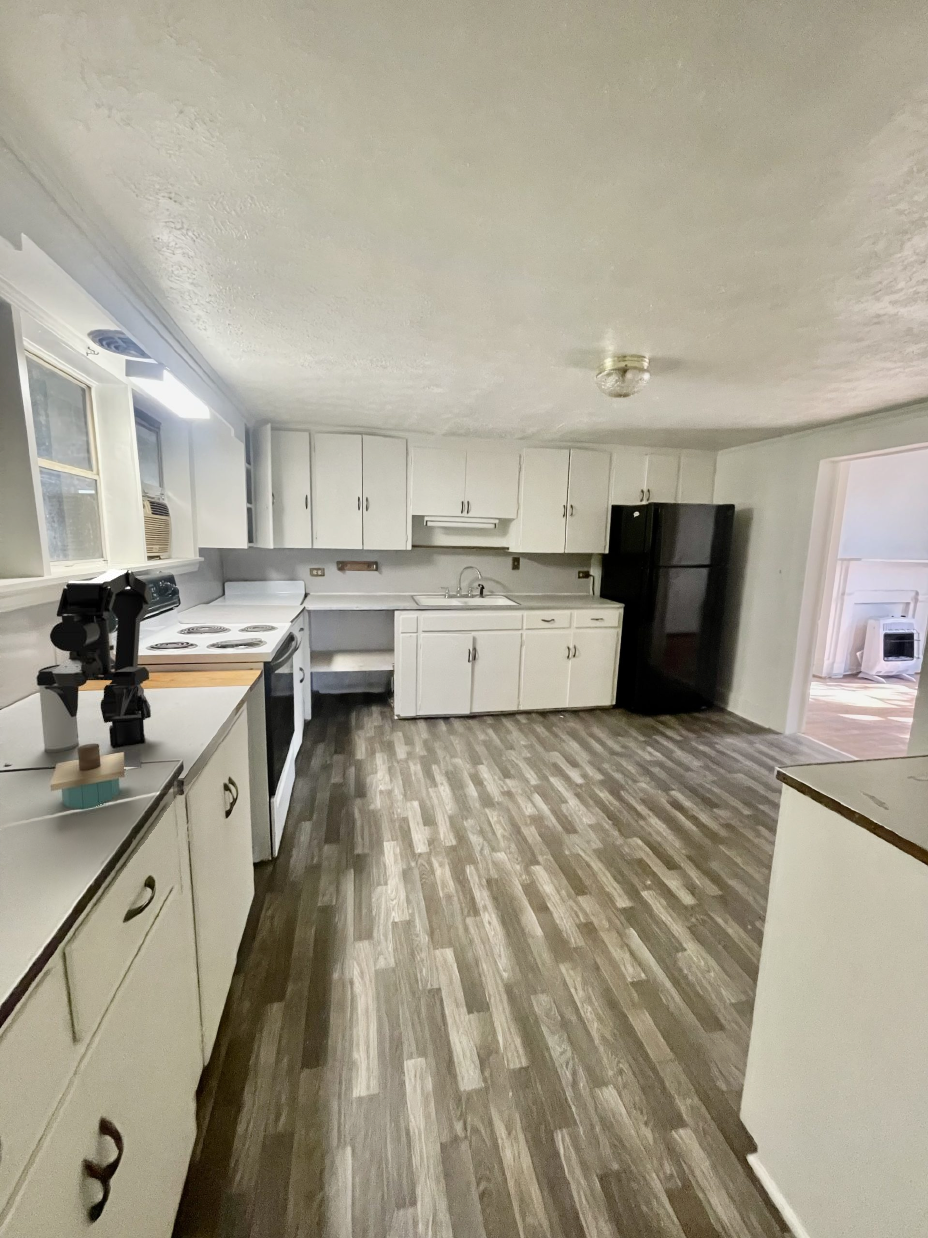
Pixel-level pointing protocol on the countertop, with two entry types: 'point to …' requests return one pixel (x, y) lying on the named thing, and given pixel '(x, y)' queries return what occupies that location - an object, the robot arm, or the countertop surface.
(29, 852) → the countertop surface
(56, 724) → the travel mug
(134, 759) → the mat
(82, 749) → the lid
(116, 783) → the bowl
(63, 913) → the countertop surface
